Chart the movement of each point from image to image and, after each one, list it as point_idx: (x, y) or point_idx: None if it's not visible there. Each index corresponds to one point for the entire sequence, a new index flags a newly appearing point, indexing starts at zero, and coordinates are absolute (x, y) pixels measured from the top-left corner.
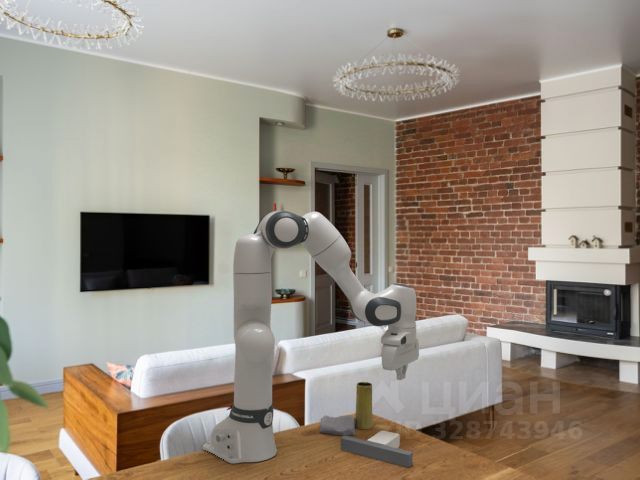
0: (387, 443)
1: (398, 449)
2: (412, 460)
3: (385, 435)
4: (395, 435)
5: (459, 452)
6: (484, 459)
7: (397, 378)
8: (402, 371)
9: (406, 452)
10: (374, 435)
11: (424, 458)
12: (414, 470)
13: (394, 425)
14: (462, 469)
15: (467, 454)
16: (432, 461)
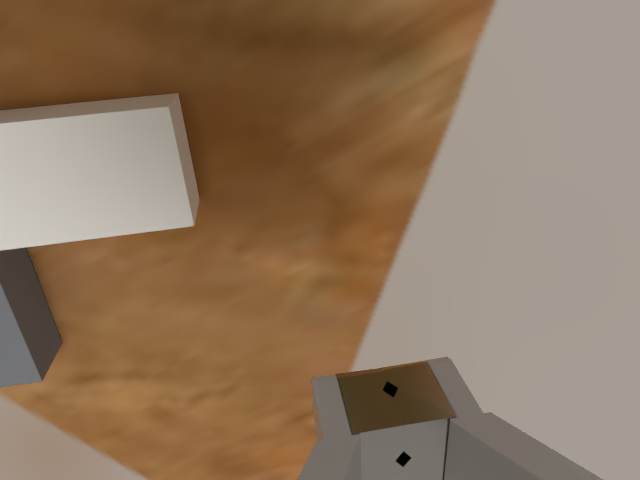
0: (17, 247)
1: (7, 324)
2: (54, 355)
3: (109, 174)
4: (156, 219)
5: None
6: None
7: (313, 393)
8: (464, 469)
9: (12, 366)
10: (48, 120)
11: (162, 342)
12: None
13: (471, 4)
14: (181, 461)
15: None
16: (161, 374)
